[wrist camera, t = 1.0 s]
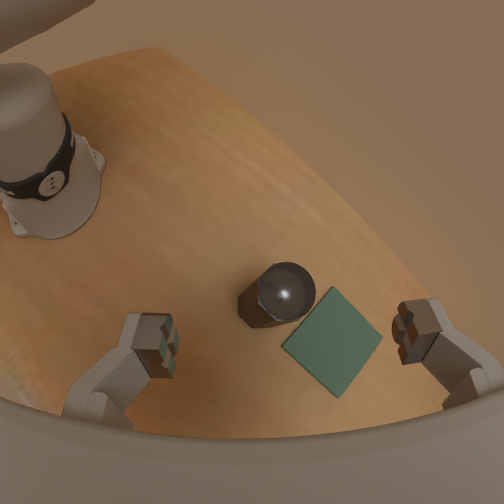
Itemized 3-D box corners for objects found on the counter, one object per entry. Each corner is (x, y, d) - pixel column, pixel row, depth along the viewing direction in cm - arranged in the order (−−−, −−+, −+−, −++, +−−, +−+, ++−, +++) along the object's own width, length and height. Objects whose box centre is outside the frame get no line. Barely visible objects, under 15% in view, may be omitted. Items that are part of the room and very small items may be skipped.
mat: (281, 346, 42) (282, 346, 41) (331, 286, 46) (333, 286, 46) (337, 397, 41) (338, 398, 41) (381, 337, 45) (382, 337, 45)
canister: (229, 306, 42) (247, 290, 31) (258, 276, 44) (286, 250, 33) (260, 336, 41) (290, 332, 30) (289, 306, 44) (326, 290, 33)
